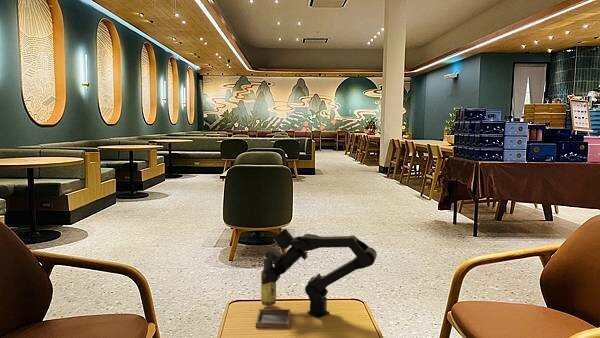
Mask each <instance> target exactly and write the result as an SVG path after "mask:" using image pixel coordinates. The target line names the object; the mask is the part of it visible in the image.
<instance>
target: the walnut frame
mask: <svg viewBox="0 0 600 338" xmlns="http://www.w3.org/2000/svg"><path fill="white" fill-rule="evenodd" d="M290 318H291V309H287V308H285V309H284V308H282V309H279V308H277V309H276V308H275V309H274V308H259V309H258V313H257V316H256V321H255V329H289V328H290Z"/></svg>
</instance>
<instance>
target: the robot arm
mask: <svg viewBox="0 0 600 338" xmlns="http://www.w3.org/2000/svg"><path fill="white" fill-rule="evenodd" d="M272 240H273V241H274V242H275V243H276V244H277V245H278V247H279V248H280V249H281V250H286V251H285V252H283V253H281V252H280V251H278V250H277V249H275V248H273V247H270V248H268V249H267V251H266V252H265V253H264V257H266V258H267V259H269V260H272V261H273V266H269V267H268V268H267V269H266V270H265V271H264V273H265V274H266V276H265V278H264V280H263V281H262V284H263V285H264V284H267V283H271V282H273V283H275V282H276V283H277V282H278V281H279V279H280V278H281V275H284V274H285V273H286V272H287V271H288V270H290V269H291V267H292V266H294V264H295V263H297V262H298V261H299V259H301V258H302V260H304V261H305V260H306V259H307V258H308V257H309V256H308V253H309V251H314V250H317V249H322V248H323V249H324V248H349V249H350V251H352V252H353V254H354V255H355V257H353V259H351V260H349V261H348V262H346V263H344V264H342V265H341V266H338V267H337V268H335V269H333V270H332V271H330V272H328V273H327V274H325V275H321V273H320V272H319V273H318V274H316V275H314V276H311V278H310V279H309V280H308V282H307V284H306V285H305V287H304V291H305V294H306V295H307V296H308V299H309V302H310V303H309V310H308V311H307V314H308V315H312V316H313V317H315V318H322V317H323V316H326V315H329V314H330V311H328V309H327V301H328V299H327V295H328V292H329V290H328V289H327V287H328V286H330V285H332V284H334V283H335V282H337V281H339V280H340V279H342V278H345V277H346V276H348V275H349V274H351V273H353V272H354V271H356V270H360V269H365V268H369V267H371V266H372V265H374V263H375V261H376V259H377V256H378V253H377V250H376V249H375V248H374V247H370V246H369V245H367V243H365V242H363V241H362V240H360V239H359V238H358V237H356V235H345V236H344V235H338V236H319V235H317V234H313V233H312V234H311V233H305V234H303V235H301V236H294V237H293V235H292V234H291V233H290V232H289V230H288V229H287V228H283V230H282V231H280V232H279V233H277V234H276V235H275V236H274V237H273V239H272Z"/></svg>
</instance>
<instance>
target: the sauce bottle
mask: <svg viewBox="0 0 600 338" xmlns="http://www.w3.org/2000/svg"><path fill="white" fill-rule="evenodd" d="M273 262H274V261H272V260H269V259H267V258H266V257H265V256H263V269H262V270H261V273H260V300H261V305H263V306H266V307H267V306H268V307H270V306H273V305H275V304H276V302H277V281H276V282H275V283H273V282H271V283H267V284H264V285H263V284H262V281H263V280H264V278H265V276H266V274H265V273H264V271H265V270H266V269H267V268H268V267H269V266H273V267H274V264H273Z"/></svg>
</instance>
